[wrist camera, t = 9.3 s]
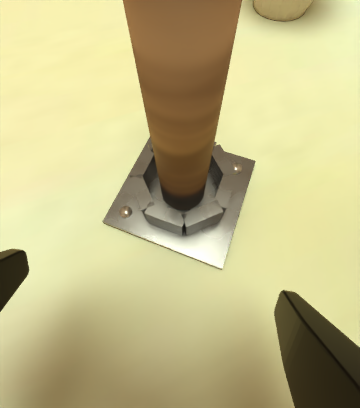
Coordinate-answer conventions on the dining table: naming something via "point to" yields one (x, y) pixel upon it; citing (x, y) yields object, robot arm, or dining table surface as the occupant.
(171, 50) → the tall ribbed vase
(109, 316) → the dining table surface
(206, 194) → the cup bracket
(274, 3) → the coffee cup
